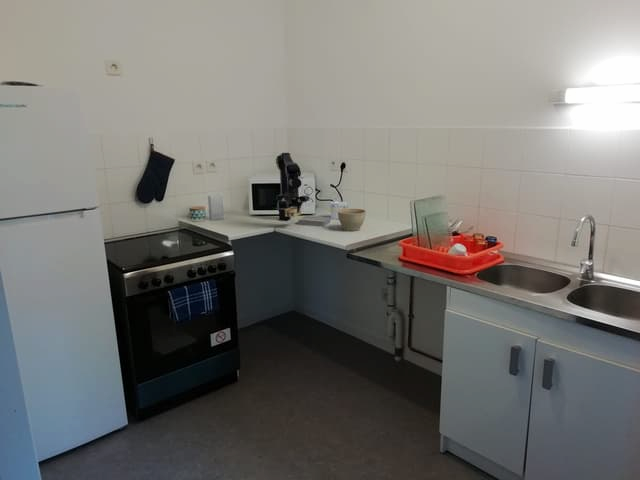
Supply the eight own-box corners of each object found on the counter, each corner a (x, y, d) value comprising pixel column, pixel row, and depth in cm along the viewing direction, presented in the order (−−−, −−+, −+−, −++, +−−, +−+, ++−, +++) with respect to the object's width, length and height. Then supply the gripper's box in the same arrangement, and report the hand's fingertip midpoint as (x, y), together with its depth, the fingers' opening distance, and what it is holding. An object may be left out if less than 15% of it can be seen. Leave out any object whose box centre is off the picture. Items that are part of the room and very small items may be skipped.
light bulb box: (347, 217, 321) (347, 201, 318) (347, 219, 314) (347, 203, 311) (331, 217, 322) (331, 201, 319) (330, 219, 315) (330, 202, 312)
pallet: (285, 216, 287) (284, 209, 286) (291, 213, 296) (291, 206, 295) (294, 217, 285) (294, 210, 284) (300, 213, 294) (300, 207, 293)
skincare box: (221, 217, 322) (220, 193, 318) (224, 219, 316) (223, 195, 313) (208, 218, 318) (207, 194, 314) (211, 220, 313) (210, 196, 309)
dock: (298, 224, 300) (298, 219, 299) (305, 220, 312) (305, 215, 311) (323, 226, 295) (323, 220, 294) (330, 222, 307) (330, 216, 306)
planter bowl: (345, 225, 298) (345, 207, 295) (370, 228, 290) (370, 210, 287) (332, 230, 284) (332, 211, 282) (357, 233, 276) (358, 214, 274)
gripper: (272, 187, 282) (272, 214, 286) (302, 188, 276) (303, 216, 280) (279, 184, 292) (280, 210, 296) (309, 186, 286) (309, 212, 290)
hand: (292, 212), depth 290 cm, fingers closed on pallet, 6 cm apart
